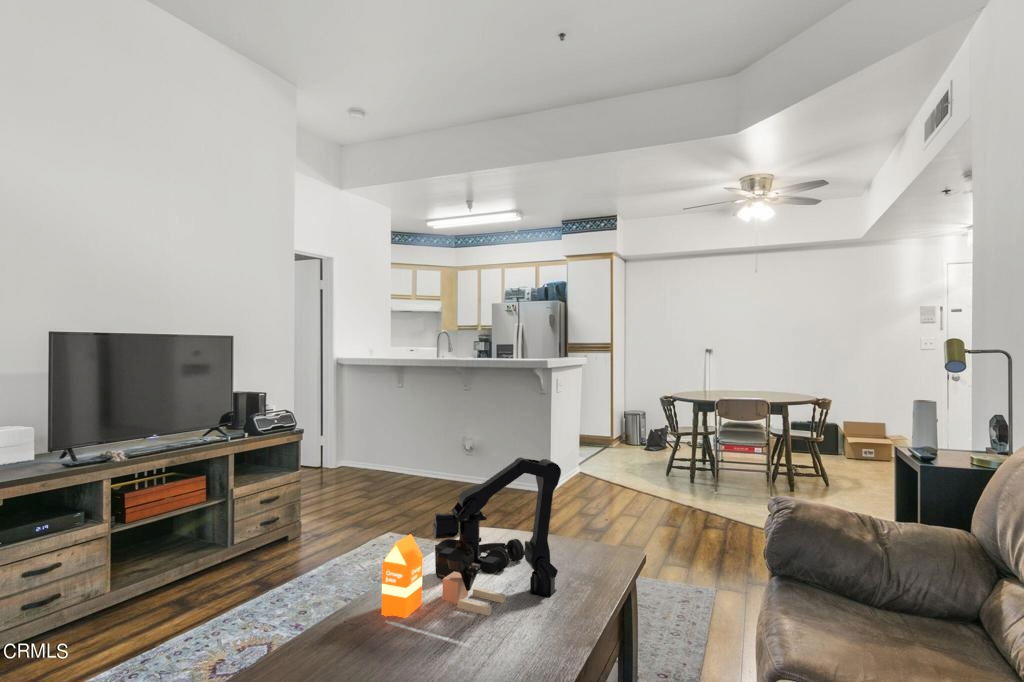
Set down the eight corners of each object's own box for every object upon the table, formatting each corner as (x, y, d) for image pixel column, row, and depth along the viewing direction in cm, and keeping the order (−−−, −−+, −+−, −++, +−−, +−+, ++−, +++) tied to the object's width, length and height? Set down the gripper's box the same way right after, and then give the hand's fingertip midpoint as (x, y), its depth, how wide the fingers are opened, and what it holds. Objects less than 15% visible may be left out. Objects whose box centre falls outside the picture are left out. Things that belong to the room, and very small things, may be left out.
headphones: (499, 551, 182) (452, 547, 194) (501, 574, 181) (454, 569, 193) (527, 537, 196) (483, 534, 207) (530, 559, 195) (485, 555, 207)
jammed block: (468, 595, 165) (468, 574, 165) (457, 603, 160) (457, 582, 160) (453, 591, 168) (454, 571, 168) (442, 599, 162) (442, 578, 162)
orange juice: (380, 615, 153) (382, 541, 154) (398, 601, 162) (399, 531, 162) (406, 620, 151) (407, 545, 151) (422, 606, 159) (423, 535, 159)
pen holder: (431, 572, 184) (431, 541, 184) (458, 568, 187) (459, 537, 188) (439, 583, 175) (439, 550, 175) (467, 578, 179) (468, 547, 179)
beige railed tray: (507, 601, 163) (507, 593, 163) (486, 619, 152) (487, 609, 152) (454, 588, 171) (454, 580, 171) (431, 604, 160) (431, 595, 160)
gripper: (426, 538, 159) (425, 594, 159) (483, 550, 151) (482, 608, 150) (447, 527, 169) (446, 580, 169) (503, 538, 161) (502, 593, 160)
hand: (468, 590), depth 162 cm, fingers closed
